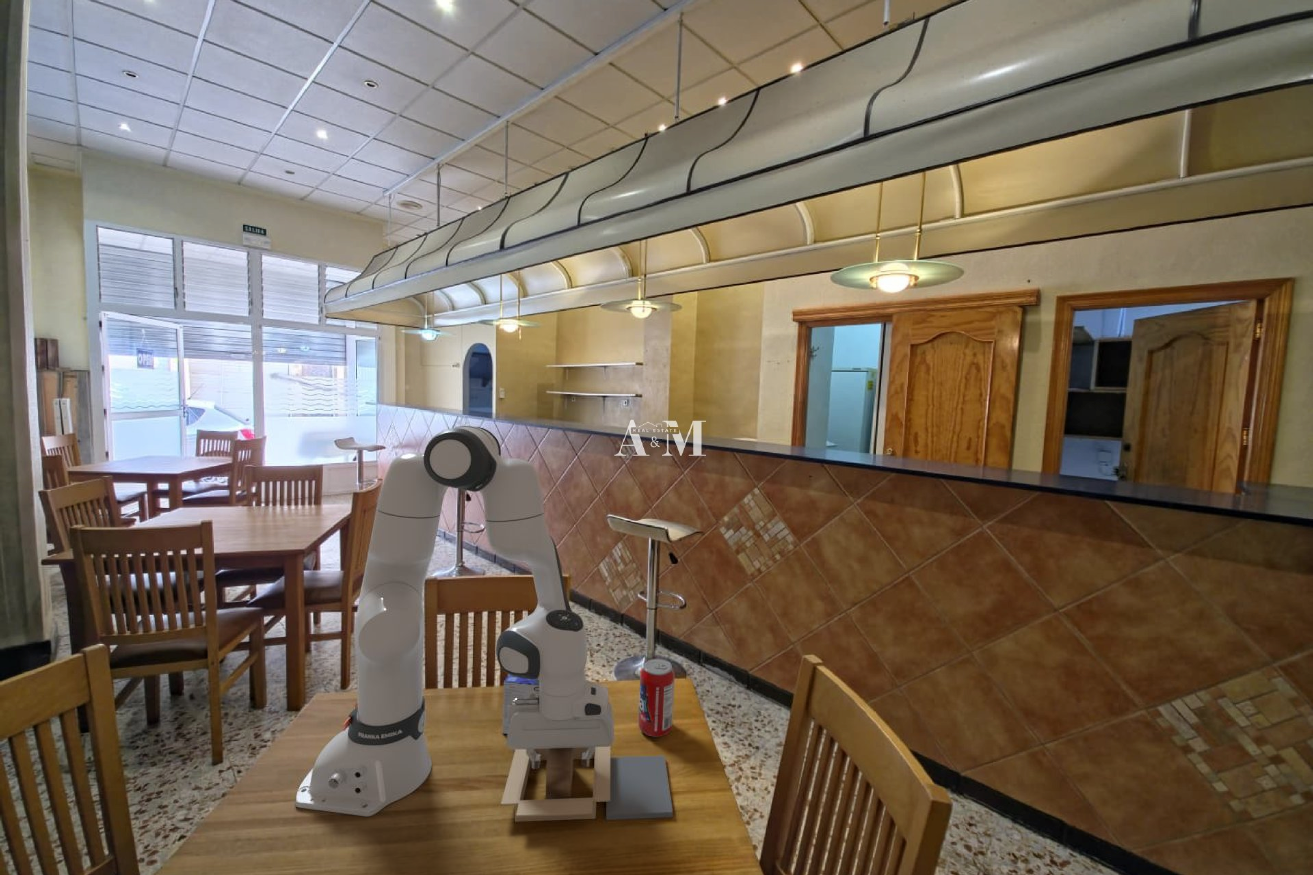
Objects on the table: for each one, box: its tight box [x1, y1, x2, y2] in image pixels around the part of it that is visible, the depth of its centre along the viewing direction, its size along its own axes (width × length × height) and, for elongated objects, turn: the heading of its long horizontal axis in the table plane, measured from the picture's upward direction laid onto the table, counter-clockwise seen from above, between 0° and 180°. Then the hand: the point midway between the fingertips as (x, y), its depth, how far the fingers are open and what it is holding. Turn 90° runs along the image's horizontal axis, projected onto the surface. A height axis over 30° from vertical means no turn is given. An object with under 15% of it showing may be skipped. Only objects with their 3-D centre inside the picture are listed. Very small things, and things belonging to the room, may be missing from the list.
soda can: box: [638, 658, 676, 738], centre depth 112 cm, size 8×8×15 cm
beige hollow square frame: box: [500, 745, 611, 823], centre depth 95 cm, size 19×20×4 cm
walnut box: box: [545, 748, 575, 799], centre depth 95 cm, size 4×9×8 cm, turn 5°
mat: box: [605, 755, 674, 821], centre depth 95 cm, size 12×14×1 cm
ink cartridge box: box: [501, 674, 539, 735], centre depth 110 cm, size 10×6×14 cm, turn 84°
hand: (561, 765), depth 95 cm, fingers open, 8 cm apart
